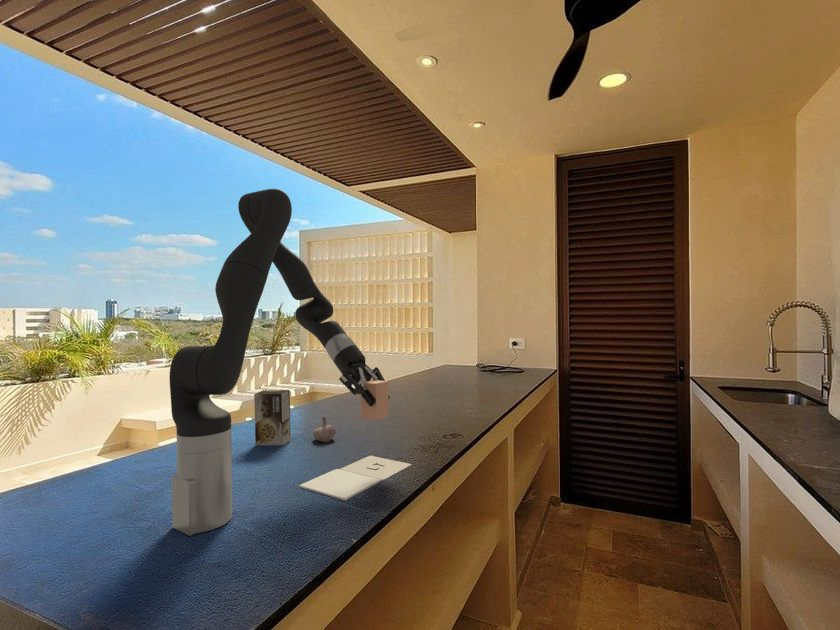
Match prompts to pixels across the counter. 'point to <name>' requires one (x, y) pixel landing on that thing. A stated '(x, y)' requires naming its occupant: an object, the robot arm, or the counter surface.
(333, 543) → the counter surface
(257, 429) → the coffee box
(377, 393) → the block
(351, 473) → the beige board
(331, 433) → the garlic bulb
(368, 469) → the cream tile
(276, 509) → the counter surface
